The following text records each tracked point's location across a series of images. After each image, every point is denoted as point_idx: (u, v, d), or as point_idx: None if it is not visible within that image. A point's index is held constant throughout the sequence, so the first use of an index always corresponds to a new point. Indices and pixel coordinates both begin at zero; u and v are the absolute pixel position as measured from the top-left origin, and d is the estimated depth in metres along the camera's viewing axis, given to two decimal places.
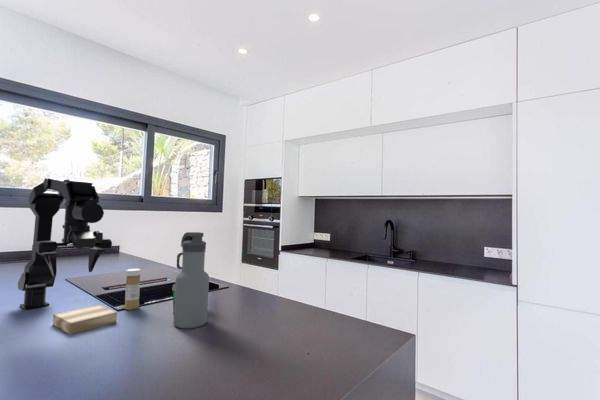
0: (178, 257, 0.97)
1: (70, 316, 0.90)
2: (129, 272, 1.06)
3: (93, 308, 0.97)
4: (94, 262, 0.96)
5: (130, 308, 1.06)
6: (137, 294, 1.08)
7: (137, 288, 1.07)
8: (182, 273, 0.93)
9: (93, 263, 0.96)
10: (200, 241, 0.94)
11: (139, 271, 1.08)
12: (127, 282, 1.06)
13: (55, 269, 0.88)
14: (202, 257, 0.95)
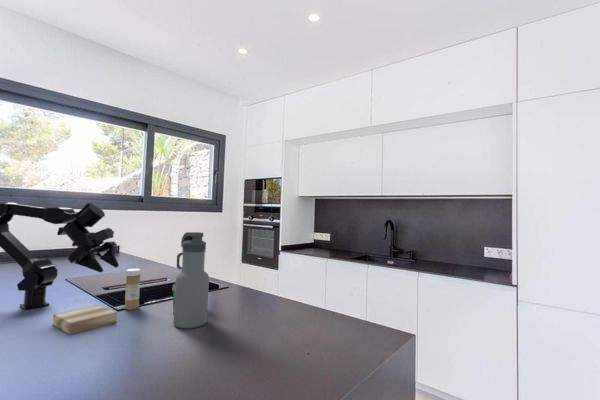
0: (178, 257, 0.97)
1: (70, 316, 0.90)
2: (129, 272, 1.06)
3: (93, 308, 0.97)
4: (115, 258, 1.13)
5: (130, 308, 1.06)
6: (137, 294, 1.08)
7: (137, 288, 1.07)
8: (182, 273, 0.93)
9: (115, 259, 1.13)
10: (200, 241, 0.94)
11: (139, 271, 1.08)
12: (127, 282, 1.06)
13: (99, 265, 1.03)
14: (202, 257, 0.95)
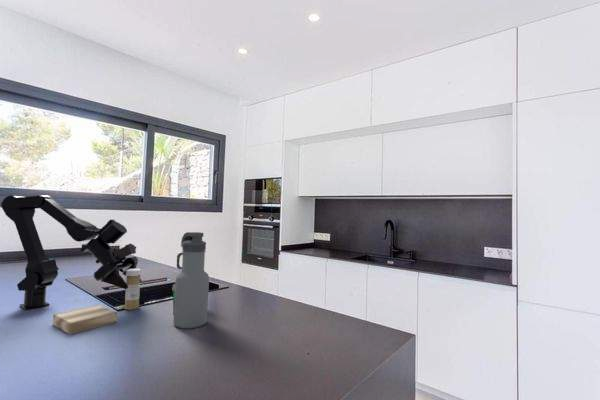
0: (178, 257, 0.97)
1: (70, 316, 0.90)
2: (129, 272, 1.06)
3: (93, 308, 0.97)
4: None
5: (130, 308, 1.06)
6: (137, 294, 1.08)
7: (137, 288, 1.07)
8: (182, 273, 0.93)
9: None
10: (200, 241, 0.94)
11: (139, 271, 1.08)
12: (127, 282, 1.06)
13: (124, 281, 1.04)
14: (202, 257, 0.95)
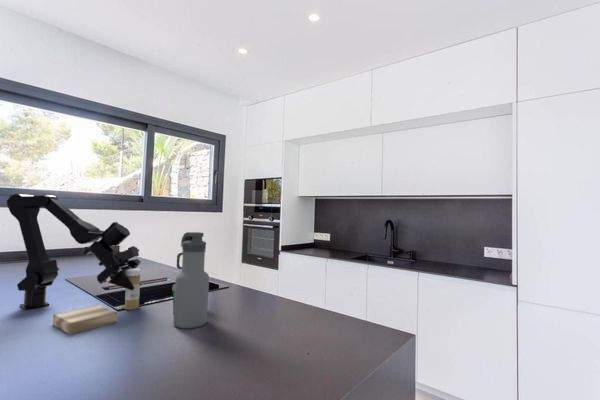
0: (178, 257, 0.97)
1: (70, 316, 0.90)
2: (129, 272, 1.06)
3: (93, 308, 0.97)
4: None
5: (130, 308, 1.06)
6: (137, 294, 1.08)
7: (137, 288, 1.07)
8: (182, 273, 0.93)
9: None
10: (200, 241, 0.94)
11: (139, 271, 1.08)
12: None
13: (131, 283, 1.06)
14: (202, 257, 0.95)
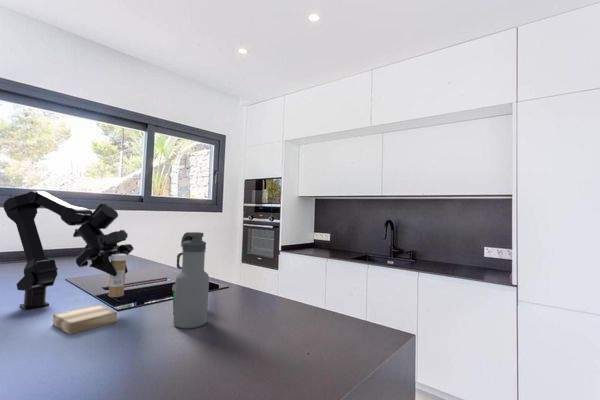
0: (178, 257, 0.97)
1: (70, 316, 0.90)
2: (113, 257, 1.00)
3: (93, 308, 0.97)
4: None
5: (113, 295, 0.99)
6: (121, 281, 1.00)
7: (121, 274, 1.00)
8: (182, 273, 0.93)
9: None
10: (200, 241, 0.94)
11: (124, 256, 1.01)
12: None
13: (113, 268, 0.99)
14: (202, 257, 0.95)
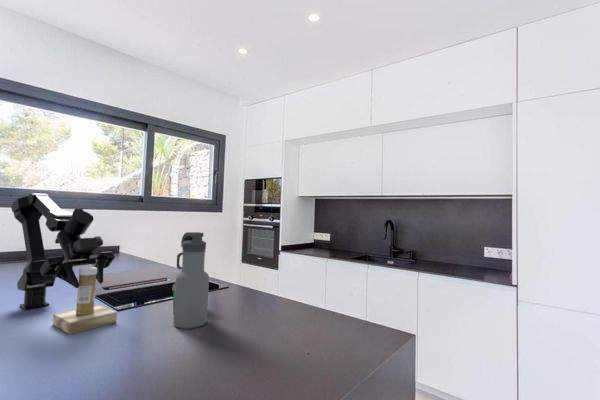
0: (178, 257, 0.97)
1: (70, 316, 0.90)
2: (79, 270, 0.91)
3: None
4: (101, 272, 0.96)
5: (78, 313, 0.90)
6: (87, 297, 0.91)
7: (87, 290, 0.91)
8: (182, 273, 0.93)
9: (101, 273, 0.96)
10: (200, 241, 0.94)
11: (91, 270, 0.92)
12: (79, 282, 0.92)
13: (76, 279, 0.90)
14: (202, 257, 0.95)
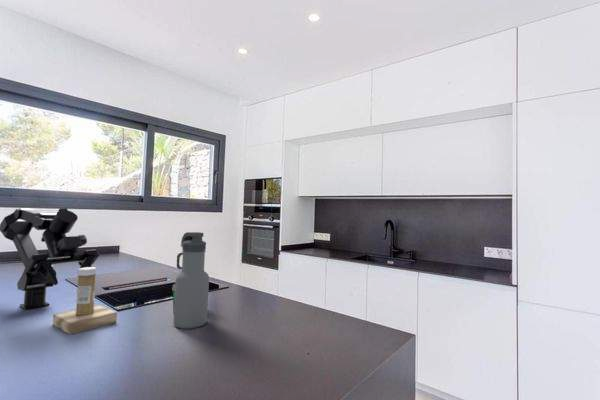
0: (178, 257, 0.97)
1: (70, 316, 0.90)
2: (78, 271, 0.91)
3: None
4: None
5: (78, 313, 0.90)
6: (87, 298, 0.91)
7: (87, 290, 0.91)
8: (182, 273, 0.93)
9: None
10: (200, 241, 0.94)
11: (90, 270, 0.92)
12: (78, 282, 0.92)
13: (55, 276, 0.92)
14: (202, 257, 0.95)
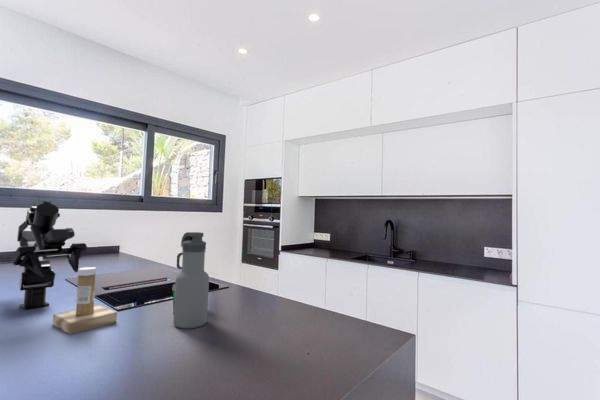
0: (178, 257, 0.97)
1: (70, 316, 0.90)
2: (78, 271, 0.91)
3: None
4: (77, 262, 1.02)
5: (78, 313, 0.90)
6: (87, 298, 0.91)
7: (87, 290, 0.91)
8: (182, 273, 0.93)
9: (76, 263, 1.02)
10: (200, 241, 0.94)
11: (90, 271, 0.92)
12: (78, 282, 0.92)
13: (41, 268, 0.93)
14: (202, 257, 0.95)
